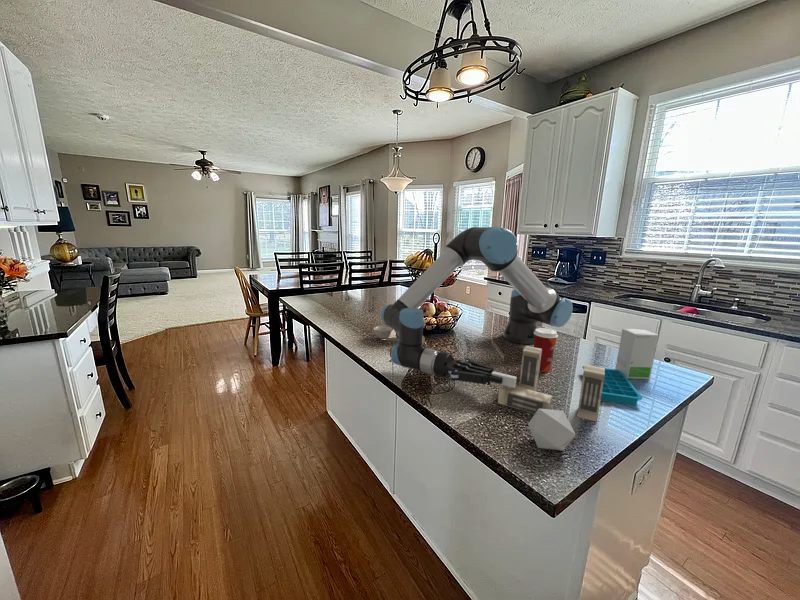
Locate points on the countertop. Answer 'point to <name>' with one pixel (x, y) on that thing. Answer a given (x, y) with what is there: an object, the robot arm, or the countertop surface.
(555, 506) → the countertop surface
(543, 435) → the die
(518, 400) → the post
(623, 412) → the countertop surface
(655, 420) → the countertop surface
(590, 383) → the post
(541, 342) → the paper cup
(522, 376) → the post
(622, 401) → the ice cube tray
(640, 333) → the skincare box
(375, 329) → the chinaware
